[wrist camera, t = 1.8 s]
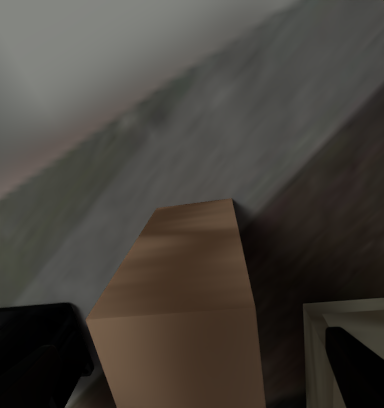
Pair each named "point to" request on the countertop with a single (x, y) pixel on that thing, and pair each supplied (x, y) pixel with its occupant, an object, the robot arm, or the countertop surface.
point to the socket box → (315, 342)
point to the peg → (181, 315)
